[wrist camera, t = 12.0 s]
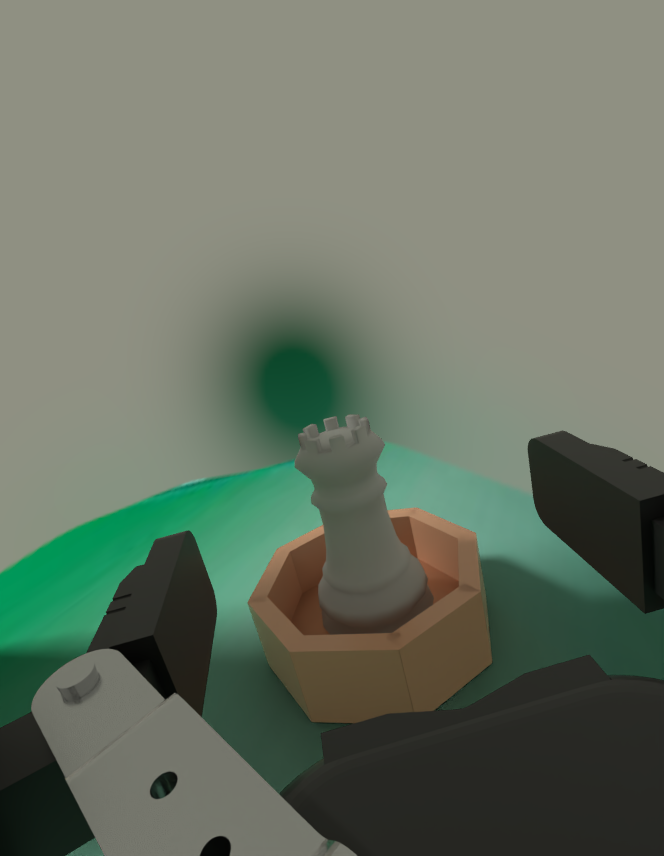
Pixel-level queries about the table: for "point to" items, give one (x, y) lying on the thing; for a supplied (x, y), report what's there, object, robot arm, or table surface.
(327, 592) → the rook chess piece
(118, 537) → the table surface
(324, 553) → the dish
